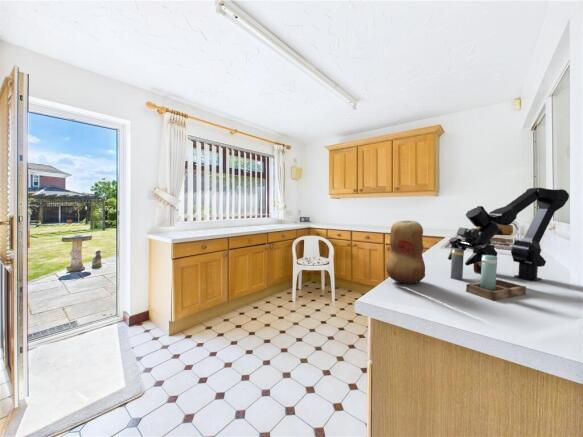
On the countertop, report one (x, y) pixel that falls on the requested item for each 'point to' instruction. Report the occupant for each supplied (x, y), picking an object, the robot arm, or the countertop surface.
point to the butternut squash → (406, 252)
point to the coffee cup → (478, 265)
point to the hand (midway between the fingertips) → (456, 261)
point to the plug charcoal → (457, 264)
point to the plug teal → (488, 272)
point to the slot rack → (497, 290)
